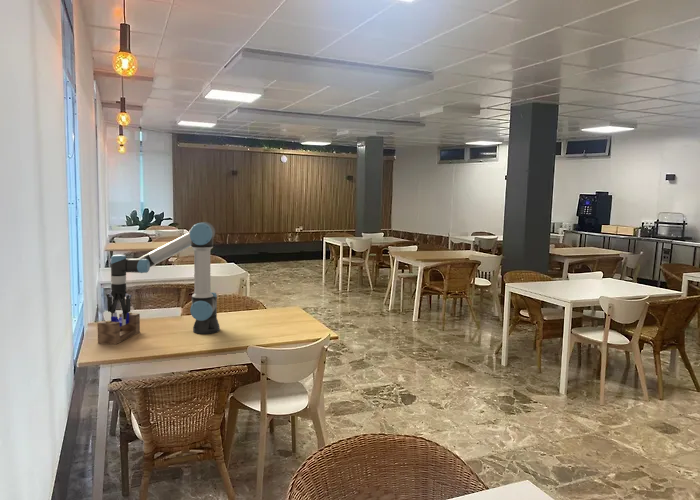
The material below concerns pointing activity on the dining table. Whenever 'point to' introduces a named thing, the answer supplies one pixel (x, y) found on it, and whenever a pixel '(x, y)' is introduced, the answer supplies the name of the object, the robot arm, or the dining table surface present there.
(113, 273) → the robot arm
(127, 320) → the cable clip
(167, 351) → the dining table surface
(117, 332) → the wooden crate
